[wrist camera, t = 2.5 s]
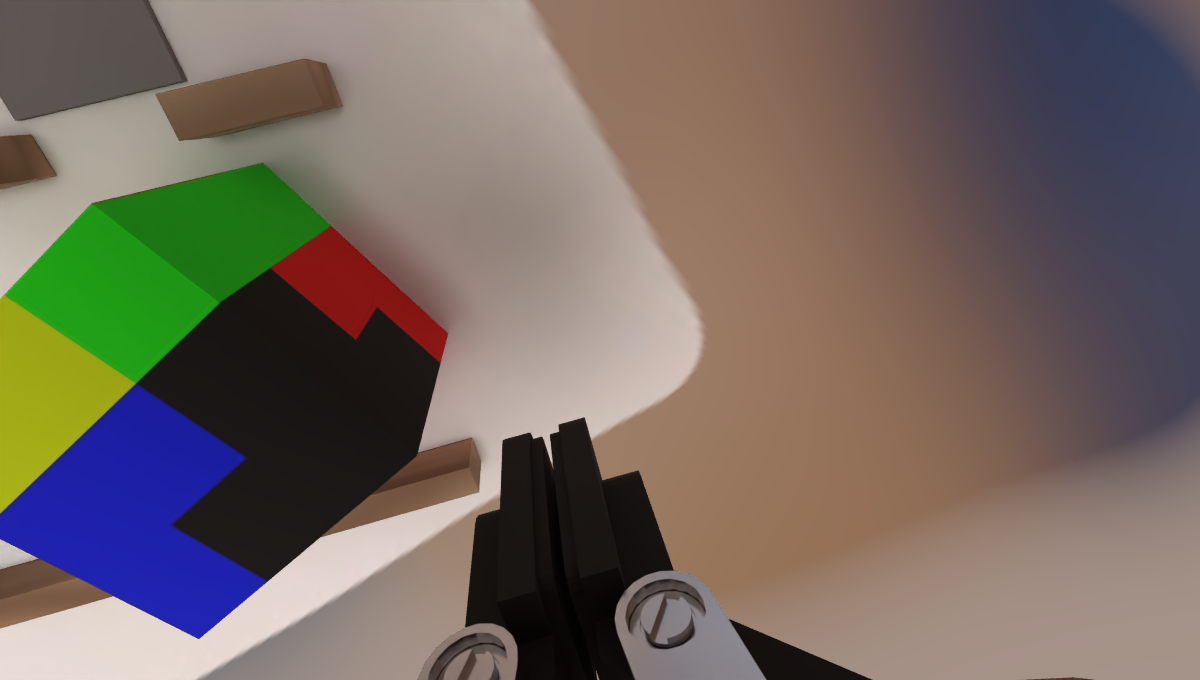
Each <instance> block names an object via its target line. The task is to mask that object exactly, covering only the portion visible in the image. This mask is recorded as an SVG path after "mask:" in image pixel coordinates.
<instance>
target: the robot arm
mask: <svg viewBox="0 0 1200 680" xmlns="http://www.w3.org/2000/svg"><path fill="white" fill-rule="evenodd" d="M550 441H551V450H552V459H553V467H552V464H551V461H550V458H549V455H548V452H547V449H546V446H545V442H544V440H543V438H542V437H539V438H535V439H533V437H532V435H531V433H526V434H523V435H519V436H515V437H512V438H508V439H504V440H503V444H502V470H501V496H500V509H499V510H495V511H492V512H488V513H485V514H482V515H479V516H478V517H477V518H476V523H475V532H474V543H473V553H472V564H471V573H470V584H469V594H468V604H467V614H466V624H465V628H463V629H461V630H459V631H457V632H456V633H454V634H452V635H450V636H449V637H448V638H446V640H444V641H443V642H442V643H441V644H440V645H438V646H437V647H436V648H435V649H434V651H433V652H432V653H431V655H430V656H429V657H428V659H427V660H426V661H425V663H424V665H423V667H422V670H421V672H420V674H419V676H418V679H417V680H597V675H596V671H597V674H598V677H599V680H871V679H869V678H867V677H864V676H862V675H860V674H857V673H855V672H852V671H850V670H848V669H845V668H843V667H841V666H839V665H836V664H834V663H831V662H829V661H827V660H824V659H822V658H820V657H817V656H815V655H813V654H810V653H808V652H805V651H803V650H801V649H798V648H796V647H794V646H791V645H789V644H787V643H784V642H782V641H780V640H777V639H775V638H772V637H770V636H768V635H765V634H763V633H761V632H758V631H756V630H753V629H751V628H749V627H747V626H744V625H742V624H740V623H737V622H735V621H733V620H730V619H728V618H727V616H726V615H725V613H724V611H723V610H722V608H721V607H720V605H719V604H718V602H717V600H716V599H715V597H714V595H713V594H712V592H711V591H710V590H709V589H708V588H707V586H706V585H705V584H704V583H703V582H702V581H700V580H699V579H697V578H695V577H694V576H692V575H690V574H687V573H683V572H679V571H674V570H673V567H672V564H671V561H670V558H669V556H668V553H667V550H666V547H665V544H664V541H663V538H662V535H661V533H660V530H659V527H658V524H657V521H656V518H655V515H654V512H653V510H652V507H651V504H650V501H649V498H648V495H647V493H646V489H645V487H644V484H643V481H642V478H641V475H640V473H639V471H635V472H631V473H628V474H624V475H620V476H617V477H613V478H610V479H606V480H602V478H601V474H600V470H599V467H598V463H597V460H596V456H595V452H594V449H593V445H592V442H591V438H590V435H589V431H588V427H587V424H586V420H585V417H584V418H581V419H577V420H573V421H570V422H566V423H563V424H559V432H557V433H553V434H550ZM553 469H554V470H553ZM1028 680H1092V679H1083V678H1074V677H1072V678H1051V679H1028Z"/></svg>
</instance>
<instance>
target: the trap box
mask: <svg viewBox="0 0 1200 680" xmlns="http://www.w3.org/2000/svg"><path fill="white" fill-rule="evenodd" d="M155 95H156V97H157V99H158V100H159V102H160V104H161V106H162V108H163V110H164V112H165V114H166V116H167V118H168V120H169V122H170V124H171V126H172V127H173V129H174V131H175V133H176V135H177V137H178V139H179V141H183V140H192V139H201V138H210V137H216V136H221V135H225V134H229V133H233V132H237V131H241V130H245V129H249V128H253V127H257V126H261V125H266V124H270V123H274V122H278V121H282V120H286V119H290V118H294V117H298V116H302V115H306V114H311V113H315V112H319V111H323V110H327V109H331V108H335V107H339V106H343V105H342V103H341V100H340V98H339V95H338V93H337V90H336V87H335V85H334V82H333V80H332V77H331V75H330V72H329V70H328V67H327V64H325V63H321V62H317V61H312V60H308V59H301V60H296V61H292V62H288V63H284V64H280V65H276V66H271V67H267V68H263V69H259V70H255V71H250V72H246V73H242V74H238V75H234V76H230V77H225V78H221V79H217V80H213V81H209V82H204V83H200V84H196V85H192V86H188V87H184V88H179V89H175V90H171V91H167V92H163V93H158V94H155ZM53 176H56V174H55V173H54V171H53V169H52V168H51V166H50V165H49V163H48V161H47V160H46V158H45V157H44V155H43V153H42V152H41V150H40V149H39V147H38V145H37V144H36V142H35V141H34V139H33V137H32V136H31V135H17V136H1V137H0V189H4V188H8V187H12V186H16V185H20V184H24V183H28V182H32V181H36V180H41V179H45V178H49V177H53ZM480 470H481V460H480V457H479V455H478V452H477V450H476V447H475V445H474V442H473V439H472V438H471V439H467V440H464V441H460V442H457V443H453V444H450V445H446V446H442V447H439V448H435V449H432V450H428V451H424V452H421V453H417V457H415V458H414V459H413V460H412V461H411V462H409V463H408V464H407V465H406V466H405V467H403V468H402V469H401V470H400V471H399V472H398V473H396V474H395V475H394V476H393V477H392V478H390V479H389V480H388V481H387V482H386V483H384V484H383V485H382V486H381V487H380V488H378V489H377V490H376V491H375V492H374V493H372V494H371V495H370V496H369V497H368V498H367V499H365V500H364V501H363V502H362V503H361V504H359V505H358V506H357V507H356V508H355V509H353V510H352V511H351V512H350V513H349V514H347V515H346V516H345V517H344V518H343V519H341V520H340V521H339V522H338V523H337V524H336V525H334V526H333V527H332V528H331V529H330V530H328V531H327V532H326V533H325V534H324V535H322V536H321V537H323V536H327V535H330V534H334V533H337V532H341V531H344V530H348V529H351V528H355V527H358V526H362V525H365V524H369V523H372V522H376V521H379V520H383V519H386V518H390V517H393V516H397V515H400V514H404V513H407V512H411V511H414V510H418V509H422V508H425V507H429V506H432V505H436V504H439V503H443V502H446V501H450V500H453V499H457V498H460V497H464V496H467V495H471V494H474V493H478V492H479V484H480ZM109 597H112V595H110V594H108V593H106V592H104V591H102V590H100V589H98V588H96V587H94V586H93V585H91V584H89V583H87V582H85V581H83V580H81V579H79V578H77V577H75V576H73V575H71V574H69V573H67V572H65V571H63V570H61V569H59V568H57V567H55V566H53V565H51V564H49V563H47V562H45V561H43V560H41V559H38V560H34V561H31V562H27V563H23V564H20V565H16V566H13V567H9V568H6V569H2V570H0V628H3V627H7V626H11V625H14V624H18V623H21V622H25V621H28V620H32V619H35V618H39V617H42V616H46V615H49V614H53V613H56V612H60V611H63V610H67V609H70V608H74V607H77V606H81V605H84V604H88V603H91V602H95V601H98V600H102V599H105V598H109Z"/></svg>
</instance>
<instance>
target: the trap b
mask: <svg viewBox="0 0 1200 680" xmlns="http://www.w3.org/2000/svg"><path fill="white" fill-rule="evenodd" d="M185 81H187V80H186V78H185V76H184V74H183V72H182V70H181V68H180V66H179V64H178V62H177V60H176V58H175V56H174V54H173V52H172V50H171V48H170V46H169V44H168V42H167V39H166V37H165V35H164V33H163V31H162V29H161V27H160V25H159V23H158V21H157V19H156V17H155V15H154V13H153V11H152V9H151V7H150V5H149V3H148V1H147V0H0V97H1V99H2V100H3V102H4V103H5V105H6V107H7V108H8V110H9V111H10V113H11V115H12V116H13V118H14V119H15V121H19V120H26V119H30V118H34V117H38V116H42V115H47V114H51V113H55V112H59V111H63V110H68V109H72V108H76V107H80V106H84V105H89V104H93V103H97V102H101V101H105V100H110V99H114V98H118V97H122V96H126V95H130V94H135V93H139V92H143V91H147V90H151V89H156V88H160V87H164V86H168V85H172V84H177V83H181V82H185Z"/></svg>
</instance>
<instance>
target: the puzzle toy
mask: <svg viewBox="0 0 1200 680" xmlns="http://www.w3.org/2000/svg"><path fill="white" fill-rule="evenodd" d="M447 336H448V333H447V332H446V331H445V330H443V329H442V328H441V327H440V326H439V325H438V324H437V323H436V322H435V321H434V320H433V319H431V318H430V317H429V316H428V315H427V314H426V313H425V312H424V311H423V310H422V309H421V308H420V307H418V306H417V305H416V304H415V303H414V302H413V301H412V300H411V299H410V298H409V297H408V296H406V295H405V294H404V293H403V292H402V291H401V290H400V289H399V288H398V287H397V286H396V285H395V284H393V283H392V282H391V281H390V280H389V279H388V278H387V277H386V276H385V275H384V274H383V273H382V272H380V271H379V270H378V269H377V268H376V267H375V266H374V265H373V264H372V263H371V262H370V261H368V260H367V259H366V258H365V257H364V256H363V255H362V254H361V253H360V252H359V251H358V250H357V249H355V248H354V247H353V246H352V245H351V244H350V243H349V242H348V241H347V240H346V239H345V238H343V237H342V236H341V235H340V234H339V233H338V232H337V231H336V230H335V229H334V228H333V227H332V226H330V225H329V224H328V223H327V222H326V221H325V220H324V219H323V218H322V217H321V216H320V215H319V214H317V213H316V212H315V211H314V210H313V209H312V208H311V207H310V206H309V205H308V204H307V203H305V202H304V201H303V200H302V199H301V198H300V197H299V196H298V195H297V194H296V193H295V192H294V191H292V190H291V189H290V188H289V187H288V186H287V185H286V184H285V183H284V182H283V181H282V180H281V179H279V178H278V177H277V176H276V175H275V174H274V173H273V172H272V171H271V170H270V169H269V168H267V167H266V166H265V165H264V164H263V163H261V164H257V165H252V166H248V167H244V168H240V169H235V170H231V171H227V172H223V173H218V174H214V175H210V176H206V177H201V178H197V179H193V180H189V181H184V182H180V183H176V184H172V185H167V186H163V187H159V188H155V189H150V190H146V191H142V192H138V193H134V194H129V195H125V196H121V197H117V198H112V199H108V200H104V201H100V202H95V203H92V204H91V205H90V206H89V207H88V208H87V209H86V210H85V211H84V212H83V213H82V214H81V215H80V216H79V217H78V218H77V219H76V220H75V221H74V223H73V224H72V225H71V226H70V227H69V228H68V229H67V230H66V231H65V232H64V233H63V234H62V235H61V236H60V237H59V238H58V239H57V240H56V241H55V242H54V243H53V244H52V246H51V247H50V248H49V249H48V250H47V251H46V252H45V253H44V254H43V255H42V256H41V257H40V258H39V259H38V260H37V261H36V262H35V263H34V264H33V265H32V266H31V267H30V269H29V270H28V271H27V272H26V273H25V274H24V275H23V276H22V277H21V278H20V279H19V280H18V281H17V282H16V283H15V284H14V285H13V286H12V287H11V288H10V289H9V290H8V292H7V293H6V294H5V295H4V296H3V297H2V298H1V299H0V539H1V540H3V541H5V542H7V543H9V544H11V545H13V546H15V547H17V548H19V549H21V550H23V551H25V552H27V553H29V554H31V555H33V556H35V557H37V558H39V559H41V560H43V561H45V562H47V563H49V564H51V565H53V566H55V567H57V568H59V569H61V570H63V571H65V572H67V573H69V574H71V575H73V576H75V577H77V578H79V579H81V580H83V581H85V582H87V583H89V584H91V585H93V586H94V587H96V588H98V589H100V590H102V591H104V592H106V593H108V594H110V595H112V596H114V597H116V598H118V599H120V600H122V601H124V602H126V603H128V604H130V605H132V606H134V607H136V608H138V609H140V610H142V611H144V612H146V613H148V614H150V615H152V616H154V617H156V618H158V619H160V620H162V621H164V622H166V623H168V624H170V625H172V626H174V627H176V628H178V629H180V630H182V631H184V632H186V633H188V634H190V635H192V636H194V637H196V638H198V639H200V638H201V637H202V636H203V635H204V634H206V633H207V632H208V631H209V630H210V629H212V628H213V627H214V626H215V625H216V624H218V623H219V622H220V621H221V620H222V619H223V618H225V617H226V616H227V615H228V614H229V613H231V612H232V611H233V610H234V609H235V608H237V607H238V606H239V605H240V604H241V603H243V602H244V601H245V600H246V599H247V598H249V597H250V596H251V595H252V594H253V593H254V592H256V591H257V590H258V589H259V588H260V587H262V586H263V585H264V584H265V583H266V582H268V581H269V580H270V579H271V578H272V577H274V576H275V575H276V574H277V573H278V572H280V571H281V570H282V569H283V568H284V567H285V566H287V565H288V564H289V563H290V562H291V561H293V560H294V559H295V558H296V557H297V556H299V555H300V554H301V553H302V552H303V551H305V550H306V549H307V548H308V547H309V546H310V545H312V544H313V543H314V542H315V541H316V540H318V539H319V538H320V537H321V536H322V535H324V534H325V533H326V532H327V531H328V530H330V529H331V528H332V527H333V526H334V525H336V524H337V523H338V522H339V521H340V520H341V519H343V518H344V517H345V516H346V515H347V514H349V513H350V512H351V511H352V510H353V509H355V508H356V507H357V506H358V505H359V504H361V503H362V502H363V501H364V500H365V499H367V498H368V497H369V496H370V495H371V494H372V493H374V492H375V491H376V490H377V489H378V488H380V487H381V486H382V485H383V484H384V483H386V482H387V481H388V480H389V479H390V478H392V477H393V476H394V475H395V474H396V473H398V472H399V471H400V470H401V469H402V468H403V467H405V466H406V465H407V464H408V463H409V462H411V461H412V460H413V459H414V458H415V457H417V453H418V449H419V446H420V442H421V438H422V434H423V430H424V426H425V422H426V418H427V414H428V410H429V406H430V402H431V398H432V395H433V391H434V387H435V383H436V379H437V375H438V371H439V367H440V363H441V359H442V355H443V351H444V347H445V344H446V340H447Z"/></svg>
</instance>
